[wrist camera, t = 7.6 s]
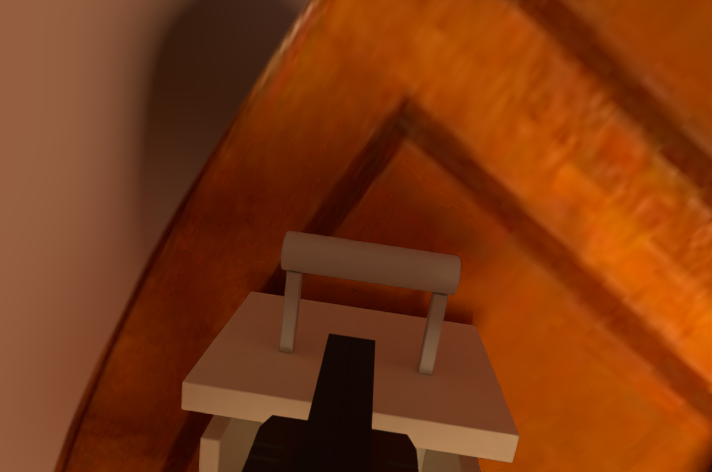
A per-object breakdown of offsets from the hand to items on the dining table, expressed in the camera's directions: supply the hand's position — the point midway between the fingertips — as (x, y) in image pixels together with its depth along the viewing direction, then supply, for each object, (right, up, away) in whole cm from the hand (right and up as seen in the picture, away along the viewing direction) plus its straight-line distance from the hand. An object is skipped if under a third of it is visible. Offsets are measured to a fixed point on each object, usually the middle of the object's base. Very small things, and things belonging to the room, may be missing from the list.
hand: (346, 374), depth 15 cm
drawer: (0, -4, +12) cm, 12 cm away
